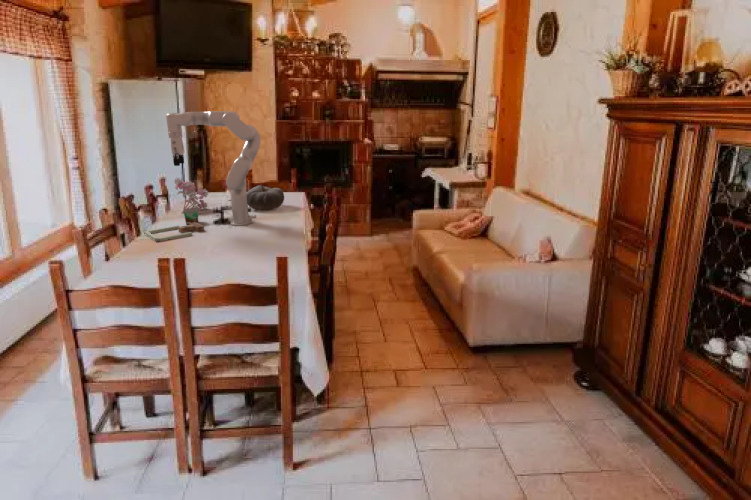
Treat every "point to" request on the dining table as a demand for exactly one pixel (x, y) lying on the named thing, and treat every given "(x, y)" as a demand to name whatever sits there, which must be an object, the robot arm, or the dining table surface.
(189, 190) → the flower
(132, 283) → the dining table surface
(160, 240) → the sage-green bay
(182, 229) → the walnut T block
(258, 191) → the gourd
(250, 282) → the dining table surface
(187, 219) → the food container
